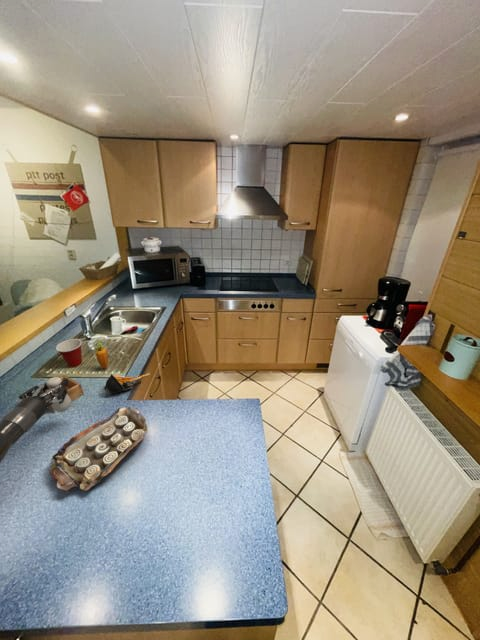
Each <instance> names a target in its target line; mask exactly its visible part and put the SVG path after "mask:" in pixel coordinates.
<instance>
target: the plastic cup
mask: <svg viewBox="0 0 480 640" xmlns="http://www.w3.org/2000/svg"><path fill="white" fill-rule="evenodd" d="M82 343H83V342H82V340H81V339H79V338H69V339H67V340H63V341H61V342H60V343H58V344H57V345H56V346H55V349H56V351H57V352H58V353H60V355H61V357H63V360H64V361H65V363H66V364H67V365H68V368H76V367H79V366H81V365H82V363H83V357H82Z"/></svg>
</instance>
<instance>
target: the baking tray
mask: <svg viewBox="0 0 480 640" xmlns="http://www.w3.org/2000/svg"><path fill="white" fill-rule="evenodd" d="M148 431H149V429H148V426H147V422H146V418H145V417H144V415H143V414H142V413H141V412H140V410H138V409H137V408H132V407H131V406H129V407H119V408H117V409H116V410H115V411H114V412H113V413H112V414H111V415H110V416H109V417H107V418H104V419H103V420H101V421H98V422H96V423H94V424H92V425H90V426H89V427H87V428H86V429H84V430H82V431H80V432H79V433H77V434H75V436H72V437H71V438H70V439H69V441H67V442H65V443H64V444H63V445H62V446H61V447H60V448H59V449H58V450H57V452H56V453H55V454H54V455H52V458H51V459H50V466H49V468H50V474H51V477H53V478H54V479H55V480H57V483H56V487H57V488H58V489H61V490H64V491H66V492H67V491H68V490H70V489H72V488H74V487H77V488H79V489H80V490H82V491H85V492H86V491H88V490H90V489H92V487H94V486H96V485H97V484H98V483H100V481H102V480H103V478H104V477H105V476H108V474H109V473H112V471H113V470H114V468H115V467H116V466H117V465H118V464H119V463H120V462H121V460H122V459H124V458H125V456H127V455H128V453H129V452H130V451H131V450H133V449H134V448H135V447H136V446H137V445H138V444H139V442H141V441H142V440H143V438H144V437H145V436H146V434H147V433H148Z"/></svg>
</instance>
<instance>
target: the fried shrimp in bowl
mask: <svg viewBox="0 0 480 640" xmlns="http://www.w3.org/2000/svg"><path fill="white" fill-rule="evenodd" d="M149 376H151V372H146V373H144V374H142V375H140V376H137V377H134V375H132V376H121V377H120V375H113V374H112V373H111V374H110V376H109V377H108V378H107V380H106V382H105V385H104V390H105V391H106V392H107V393H108V394H109V395H112V394H118V393H120V392H122V391H127V390H130V389H133V386H134V385H136V382H137V381H138V380H141V379H144V378H147V377H149Z"/></svg>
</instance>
